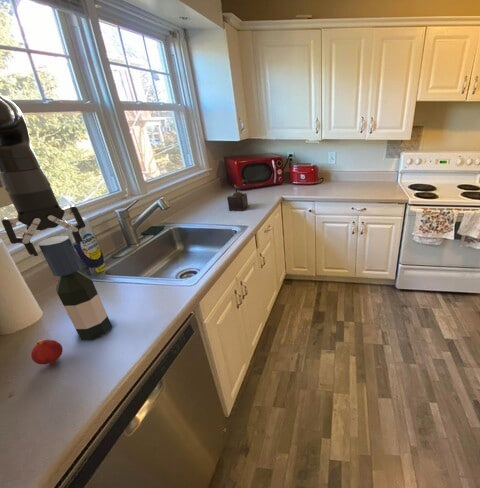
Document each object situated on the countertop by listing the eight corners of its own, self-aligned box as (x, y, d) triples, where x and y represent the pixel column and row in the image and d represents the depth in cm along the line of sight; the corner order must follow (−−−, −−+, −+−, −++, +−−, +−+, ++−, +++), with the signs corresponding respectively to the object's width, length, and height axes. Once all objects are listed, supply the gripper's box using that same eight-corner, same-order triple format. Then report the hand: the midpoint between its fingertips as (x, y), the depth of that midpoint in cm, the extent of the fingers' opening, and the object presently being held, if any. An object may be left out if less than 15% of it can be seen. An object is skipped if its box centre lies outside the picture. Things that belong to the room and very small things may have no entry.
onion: (44, 357, 76) (31, 335, 73) (70, 351, 78) (58, 329, 75) (34, 374, 71) (19, 351, 68) (62, 367, 73) (49, 344, 70)
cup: (48, 277, 73) (32, 246, 69) (59, 266, 78) (45, 237, 74) (76, 273, 75) (62, 243, 71) (85, 263, 80) (72, 234, 76)
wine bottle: (74, 344, 81) (25, 251, 68) (83, 325, 87) (40, 238, 74) (109, 335, 84) (68, 245, 71) (115, 318, 91) (79, 233, 78)
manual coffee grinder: (244, 211, 187) (241, 184, 179) (228, 210, 187) (224, 184, 179) (251, 204, 201) (248, 178, 193) (236, 203, 201) (233, 178, 193)
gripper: (64, 181, 74) (87, 237, 81) (-16, 192, 64) (18, 254, 71) (70, 185, 69) (94, 244, 76) (-15, 198, 59) (21, 264, 66)
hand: (57, 249), depth 73 cm, fingers open, 8 cm apart
